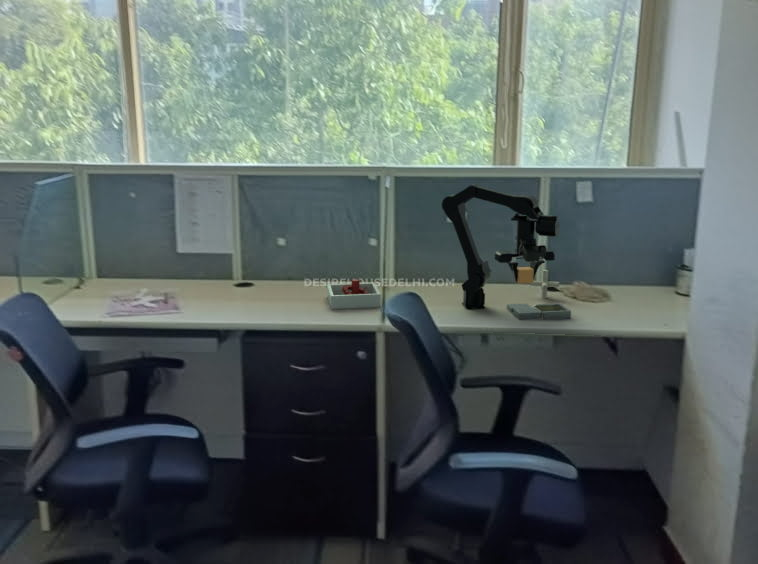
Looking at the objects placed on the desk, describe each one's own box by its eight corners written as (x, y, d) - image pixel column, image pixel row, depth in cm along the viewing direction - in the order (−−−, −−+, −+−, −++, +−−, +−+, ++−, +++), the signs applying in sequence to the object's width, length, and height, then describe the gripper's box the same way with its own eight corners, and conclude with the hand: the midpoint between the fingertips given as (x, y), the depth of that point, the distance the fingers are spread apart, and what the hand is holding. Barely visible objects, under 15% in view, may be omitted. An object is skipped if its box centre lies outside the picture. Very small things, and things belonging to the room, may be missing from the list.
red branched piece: (371, 307, 252) (371, 283, 249) (338, 304, 255) (337, 281, 253) (379, 299, 262) (379, 276, 260) (347, 296, 265) (347, 274, 263)
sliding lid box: (520, 320, 236) (520, 313, 235) (511, 312, 244) (511, 305, 244) (570, 318, 238) (571, 311, 237) (560, 310, 247) (560, 303, 246)
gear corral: (331, 308, 249) (330, 296, 248) (327, 296, 265) (327, 284, 263) (380, 306, 252) (380, 294, 250) (374, 294, 267) (374, 282, 266)
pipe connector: (558, 302, 257) (560, 274, 254) (529, 300, 259) (531, 273, 256) (557, 294, 266) (559, 267, 264) (529, 293, 268) (531, 266, 266)
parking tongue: (511, 312, 244) (511, 308, 244) (506, 308, 249) (506, 304, 249) (531, 311, 245) (531, 307, 245) (526, 307, 250) (526, 303, 250)
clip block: (518, 283, 240) (519, 270, 239) (514, 280, 244) (514, 267, 243) (533, 282, 241) (533, 269, 240) (528, 280, 244) (529, 266, 243)
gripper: (506, 240, 229) (504, 288, 233) (562, 238, 232) (560, 285, 236) (495, 234, 240) (493, 280, 243) (549, 231, 243) (546, 277, 246)
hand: (523, 281), depth 242 cm, fingers closed on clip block, 5 cm apart
